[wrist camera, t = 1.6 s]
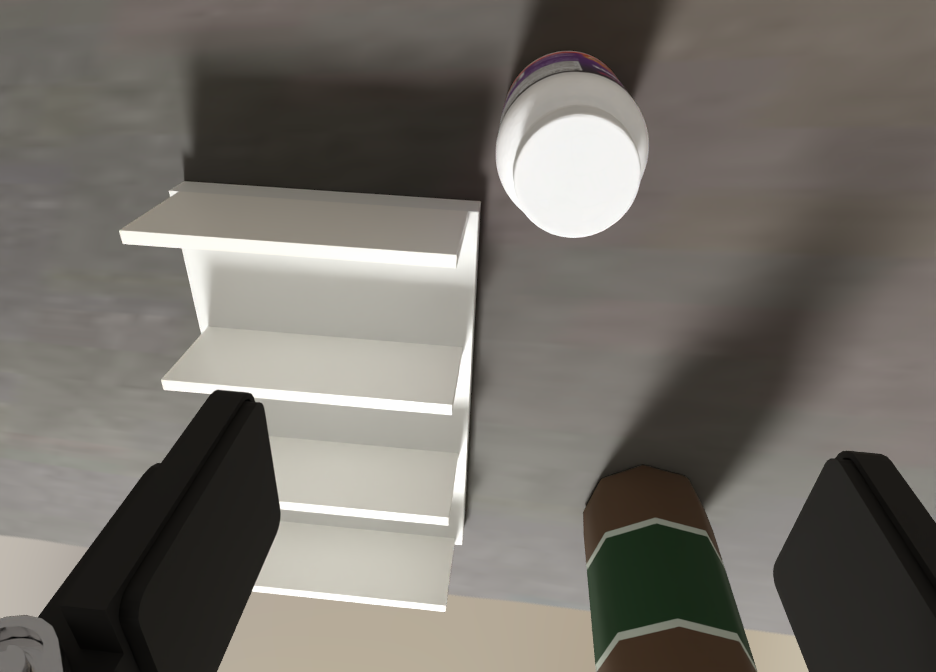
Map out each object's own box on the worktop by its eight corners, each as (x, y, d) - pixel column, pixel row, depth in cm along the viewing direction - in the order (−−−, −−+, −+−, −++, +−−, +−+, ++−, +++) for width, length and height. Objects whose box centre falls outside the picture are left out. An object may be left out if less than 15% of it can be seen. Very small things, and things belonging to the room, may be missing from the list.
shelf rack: (480, 201, 30) (469, 256, 24) (464, 527, 42) (453, 612, 37) (183, 181, 31) (107, 229, 25) (252, 506, 43) (211, 587, 37)
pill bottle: (641, 142, 28) (687, 219, 19) (532, 192, 29) (532, 282, 21) (598, 23, 25) (630, 53, 17) (482, 84, 27) (461, 139, 19)
